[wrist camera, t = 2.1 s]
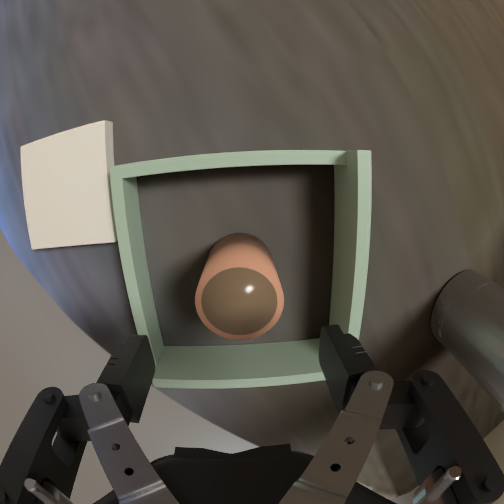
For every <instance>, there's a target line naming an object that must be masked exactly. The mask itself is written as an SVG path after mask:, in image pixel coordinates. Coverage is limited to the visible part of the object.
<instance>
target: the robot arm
mask: <svg viewBox="0 0 504 504" xmlns="http://www.w3.org/2000/svg"><path fill="white" fill-rule="evenodd" d="M431 329H432V333H433V334H434V336H435V337H436V338H437V339H438V340H439V341H440V342H441V343H442V344H443V345H444V346H445V347H446V348H447V349H448V351H449V352H450V353H451V354H452V355H453V356H454V357H455V358H456V359H457V360H458V361H459V362H460V363H461V365H462V366H463V367H464V368H465V369H466V370H467V371H468V372H469V373H470V374H471V375H472V377H473V378H474V379H475V380H476V381H477V382H478V383H479V384H480V386H481V387H482V388H483V389H484V390H485V391H486V392H487V394H488V395H489V396H490V397H491V398H492V399H493V401H494V402H495V403H496V404H497V405H498V407H499V408H500V409H501V410H502V411H503V413H504V288H503V287H501V286H499V285H498V284H496V283H495V282H493V281H491V280H490V279H488V278H486V277H484V276H483V275H481V274H479V273H478V272H476V271H472V270H467V271H464V272H461V273H459V274H458V275H456V276H455V277H454V278H453V279H451V280H450V281H449V282H448V284H447V285H446V286H445V287H444V289H443V290H442V292H441V293H440V295H439V297H438V299H437V301H436V303H435V305H434V308H433V311H432V316H431ZM319 363H320V366H321V369H322V372H323V374H324V377H325V379H326V382H327V384H328V387H329V389H330V392H331V395H332V397H333V400H334V402H335V405H336V407H337V410H338V413H339V415H338V417H337V419H336V421H335V423H334V424H333V426H332V428H331V430H330V431H329V433H328V435H327V436H326V438H325V440H324V441H323V443H322V445H321V446H320V448H319V450H318V451H317V453H316V454H315V456H312V455H310V454H306V453H302V452H296V451H291V448H290V444H283V445H274V446H262V447H258V448H255V449H251V450H247V451H243V452H239V453H234V454H229V453H223V452H218V451H213V450H208V449H204V448H182V447H175V453H174V455H168V456H164V457H162V458H159V459H156V460H154V461H153V462H151V463H150V462H149V461H148V459H147V458H146V456H145V455H144V453H143V451H142V450H141V448H140V446H139V445H138V443H137V442H136V440H135V438H134V436H133V434H132V433H131V431H130V429H129V427H128V426H129V423H130V422H134V423H139V420H140V417H141V414H142V410H143V407H144V404H145V401H146V398H147V395H148V392H149V389H150V386H151V383H152V380H153V377H154V374H155V360H154V357H153V353H152V350H151V346H150V342H149V339H148V337H147V335H130V337H129V339H128V341H127V342H126V344H125V345H120V346H119V347H118V348H117V349H116V350H114V352H113V354H112V355H111V357H110V359H109V361H108V363H107V365H106V366H105V368H104V370H103V372H102V373H101V375H100V377H99V379H98V381H97V383H92V384H90V385H87V386H85V387H84V388H83V389H82V390H81V391H80V394H79V395H72V396H64V395H63V393H62V391H61V390H60V389H59V388H56V387H49V388H45V389H43V390H42V391H41V392H40V393H39V394H38V395H37V397H36V398H35V400H34V402H33V404H32V405H31V407H30V409H29V410H28V412H27V414H26V416H25V418H24V419H23V421H22V423H21V425H20V427H19V429H18V431H17V433H16V434H15V436H14V438H13V440H12V442H11V444H10V446H9V448H8V450H7V452H6V454H5V457H4V459H3V461H2V463H1V465H0V504H73V503H72V502H71V500H70V496H71V492H72V489H73V485H74V482H75V478H76V475H77V472H78V468H79V465H80V462H81V459H82V455H83V453H84V449H85V446H86V443H87V441H92V444H93V446H94V449H95V451H96V454H97V456H98V458H99V460H100V463H101V465H102V467H103V469H104V471H105V473H106V475H107V478H108V480H109V482H110V484H111V485H112V488H113V491H111V492H110V493H108V494H107V495H105V496H104V497H102V498H101V499H100V500H98V501H96V502H95V503H93V504H396V503H394V502H392V501H390V500H388V499H386V498H385V497H383V496H381V495H379V494H377V493H375V492H373V491H372V490H370V489H368V488H366V487H364V486H363V485H361V484H359V483H358V482H356V480H357V478H358V476H359V474H360V472H361V470H362V468H363V465H364V463H365V461H366V459H367V457H368V454H369V452H370V450H371V447H372V445H373V443H374V440H375V438H376V435H377V433H378V430H379V429H396V431H397V433H398V436H399V438H400V440H401V442H402V445H403V447H404V449H405V452H406V454H407V456H408V459H409V461H410V464H411V466H412V468H413V471H414V473H415V476H416V478H417V481H418V483H419V487H418V488H417V489H416V491H415V493H414V495H413V504H492V503H493V502H494V501H496V500H497V499H498V498H499V497H500V496H501V495H502V494H503V492H504V474H503V472H502V471H501V469H500V468H499V465H498V464H497V462H496V460H495V458H494V457H493V455H492V453H491V452H490V450H489V449H488V447H487V445H486V443H485V442H484V440H483V439H482V437H481V435H480V434H479V432H478V431H477V429H476V427H475V426H474V424H473V423H472V421H471V420H470V418H469V417H468V415H467V414H466V412H465V411H464V409H463V408H462V406H461V405H460V403H459V402H458V401H457V399H456V398H455V396H454V395H453V393H452V392H451V390H450V389H449V388H448V386H447V385H446V383H445V382H444V381H443V379H442V378H441V377H440V376H439V375H438V374H437V373H435V372H432V371H426V370H425V371H420V372H417V373H416V374H415V375H414V376H413V378H412V381H393V379H392V377H391V376H390V375H388V374H387V373H385V372H382V371H378V370H377V369H376V367H375V366H374V364H373V362H372V361H371V359H370V358H369V356H368V354H367V353H366V352H365V350H364V348H363V347H362V345H361V344H360V342H359V340H358V339H357V338H356V337H354V336H353V335H351V334H350V333H347V334H344V333H343V332H342V330H341V328H340V327H339V325H338V324H336V325H328V326H322V327H321V333H320V344H319ZM56 432H57V436H56V438H55V440H54V443H53V446H52V439H53V437H54V435H55V433H56Z"/></svg>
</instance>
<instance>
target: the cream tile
mask: <svg viewBox="0 0 504 504" xmlns="http://www.w3.org/2000/svg"><path fill="white" fill-rule="evenodd" d="M112 166H114V152H113V122H110V121H106V120H103V121H99V122H95V123H91V124H88V125H84V126H81V127H77V128H74V129H70V130H67V131H64V132H61V133H57V134H54V135H51V136H48V137H46V138H43V139H40V140H37V141H34V142H32V143H29V144H26V145H24V146H21V170H22V184H23V195H24V204H25V211H26V218H27V225H28V231H29V236H30V242H31V247H32V249H42V248H53V247H64V246H75V245H86V244H98V243H111V242H116V241H118V239H117V232H116V225H115V218H114V210H113V201H112V192H111V181H110V168H109V167H112Z"/></svg>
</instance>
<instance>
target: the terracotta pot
mask: <svg viewBox="0 0 504 504" xmlns="http://www.w3.org/2000/svg"><path fill="white" fill-rule="evenodd" d="M195 306H196V310H197V313H198V315H199V317H200V319H201V321H202V322H203V323H204V324H205V326H206V327H207V328H209V329H210V330H211V331H212V332H214V333H216V334H217V335H220V336H222V337H225V338H228V339H234V340H245V339H251V338H255V337H257V336H260V335H262V334H264V333H265V332H267V331H268V330H269V329H271V328H272V327H273V326H274V325H275V324H276V322H277V321H278V319H279V317H280V316H281V313H282V310H283V306H284V295H283V291H282V287H281V284H280V281H279V278H278V275H277V272H276V269H275V266H274V263H273V260H272V257H271V254H270V251H269V250H268V248H267V246H266V245H265V244H264V243H263V242H262V241H261V240H260V239H258V238H256V237H255V236H252V235H249V234H245V233H235V234H230V235H227V236H225V237H223V238H221V239H220V240H219V241H217V242H216V243H215V245H214V246H213V247H212V249H211V251H210V253H209V256H208V258H207V261H206V264H205V267H204V270H203V272H202V275H201V278H200V281H199V284H198V287H197V289H196V294H195Z"/></svg>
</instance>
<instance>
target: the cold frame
mask: <svg viewBox="0 0 504 504" xmlns="http://www.w3.org/2000/svg"><path fill="white" fill-rule="evenodd" d="M264 165H334V254H333V275H332V292H331V306H330V318H329V325H336V324H338V325H339V327H340V328H341V330H342V332H343V333H344V334H347V333H350V334H351V335H353V336H354V337H356V338H357V339H358V340H359V334H360V327H361V321H362V314H363V306H364V298H365V290H366V280H367V270H368V258H369V244H370V226H371V151H368V150H351V151H330V150H271V151H245V152H228V153H214V154H202V155H191V156H182V157H173V158H165V159H157V160H149V161H142V162H136V163H129V164H123V165H117V166H112V167H109V168H110V181H111V192H112V201H113V210H114V218H115V225H116V232H117V239H118V245H119V251H120V257H121V263H122V268H123V273H124V278H125V283H126V288H127V292H128V297H129V301H130V305H131V310H132V314H133V318H134V322H135V325H136V329H137V333H138V335H147V337H148V339H149V342H150V346H151V350H152V353H153V357H154V360H155V374H154V377H153V380H152V382H153V385H154V387H165V388H246V387H263V386H276V385H287V384H297V383H305V382H313V381H321V380H326V379H325V377H324V374H323V372H322V369H321V366H320V363H319V344H320V338H316V339H307V340H297V341H286V342H274V343H260V344H242V345H217V346H164V344H163V340H162V336H161V332H160V327H159V323H158V318H157V314H156V309H155V304H154V299H153V294H152V289H151V283H150V278H149V272H148V266H147V260H146V254H145V247H144V240H143V233H142V225H141V217H140V208H139V198H138V188H137V176H145V175H152V174H161V173H169V172H179V171H189V170H200V169H212V168H226V167H242V166H264Z"/></svg>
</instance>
